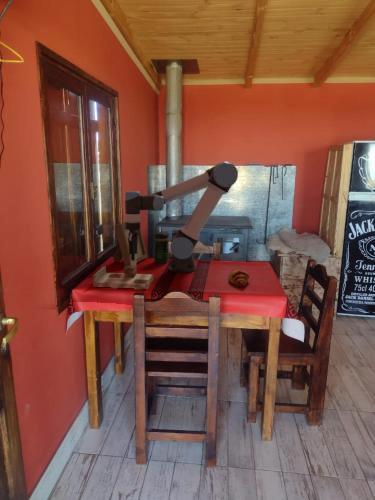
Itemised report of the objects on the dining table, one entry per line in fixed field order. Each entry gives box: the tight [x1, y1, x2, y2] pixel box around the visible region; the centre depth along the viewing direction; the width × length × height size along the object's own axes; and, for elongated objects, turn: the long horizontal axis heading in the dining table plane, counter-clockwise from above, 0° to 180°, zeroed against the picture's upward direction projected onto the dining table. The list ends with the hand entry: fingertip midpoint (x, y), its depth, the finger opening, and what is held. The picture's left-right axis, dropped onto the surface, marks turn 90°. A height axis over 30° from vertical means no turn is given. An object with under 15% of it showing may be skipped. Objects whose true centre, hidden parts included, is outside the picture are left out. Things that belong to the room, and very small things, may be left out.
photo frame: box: [113, 221, 148, 267], centre depth 214 cm, size 15×22×25 cm
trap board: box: [92, 265, 154, 290], centre depth 177 cm, size 26×16×6 cm, turn 85°
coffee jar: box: [154, 230, 170, 264], centre depth 215 cm, size 10×8×19 cm
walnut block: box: [123, 264, 137, 278], centre depth 180 cm, size 5×5×5 cm
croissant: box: [227, 269, 250, 287], centre depth 181 cm, size 21×10×8 cm, turn 2°
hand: (133, 265), depth 188 cm, fingers closed
